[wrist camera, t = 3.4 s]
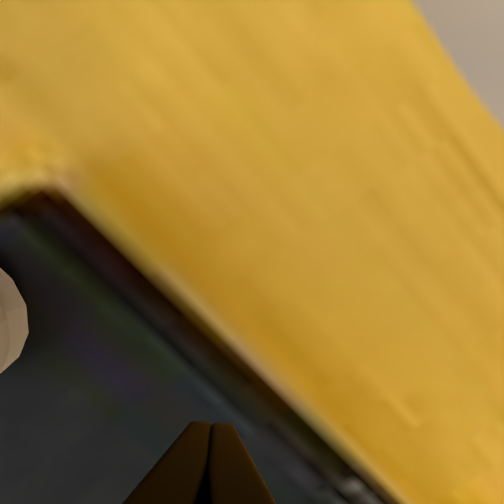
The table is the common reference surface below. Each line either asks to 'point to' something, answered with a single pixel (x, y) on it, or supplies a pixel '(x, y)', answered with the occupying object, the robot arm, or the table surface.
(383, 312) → the table surface
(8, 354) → the rook chess piece
